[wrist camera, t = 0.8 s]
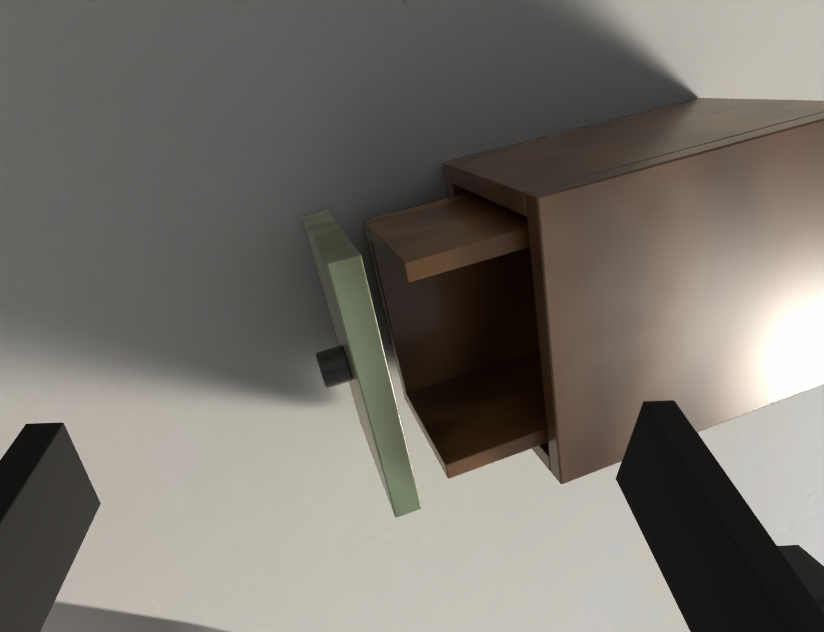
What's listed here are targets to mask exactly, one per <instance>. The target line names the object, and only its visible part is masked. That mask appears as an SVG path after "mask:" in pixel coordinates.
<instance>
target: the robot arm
mask: <svg viewBox="0 0 824 632" xmlns="http://www.w3.org/2000/svg"><path fill="white" fill-rule="evenodd" d="M616 480H617V482H618V484H619V486H620V488H621V490H622V492H623V494H624V496H625V498H626V500H627V502H628V504H629V506H630V508H631V511H632V513H633V515H634V517H635V519H636V521H637V523H638V525H639V527H640V529H641V531H642V533H643V535H644V537H645V539H646V541H647V543H648V545H649V547H650V549H651V552H652V554H653V556H654V558H655V560H656V562H657V564H658V566H659V568H660V570H661V572H662V574H663V576H664V578H665V580H666V582H667V584H668V586H669V588H670V590H671V593H672V595H673V597H674V599H675V601H676V603H677V605H678V607H679V609H680V611H681V613H682V615H683V617H684V619H685V621H686V623H687V625H688V627H689V629H690V632H824V566H823V565H821V564H820V563H819V562H818V561H817V560H815V559H814V558H813V557H812V556H811V555H810V554H808V553H807V552H806V551H805V550H804V549H802V548H801V547H800V546H799V545H791V546H776V544H775V543H774V541H773V540H772V539H771V537H770V536H769V534H768V533H767V531H766V530H765V529H764V527H763V526H762V524H761V523H760V521H759V520H758V519H757V517H756V516H755V514H754V513H753V512H752V510H751V509H750V507H749V506H748V504H747V503H746V502H745V500H744V499H743V497H742V496H741V494H740V493H739V492H738V490H737V489H736V487H735V486H734V484H733V483H732V482H731V480H730V479H729V477H728V476H727V475H726V473H725V472H724V470H723V469H722V467H721V466H720V465H719V463H718V462H717V460H716V459H715V457H714V456H713V455H712V453H711V452H710V450H709V449H708V448H707V446H706V445H705V443H704V442H703V440H702V439H701V438H700V436H699V435H698V433H697V432H696V430H695V429H694V428H693V426H692V425H691V423H690V422H689V421H688V419H687V418H686V416H685V415H684V413H683V412H682V411H681V409H680V408H679V406H678V405H677V403H676V402H675V401H674V400H668V401H643V404H642V407H641V410H640V412H639V415H638V418H637V421H636V424H635V426H634V429H633V432H632V435H631V438H630V440H629V443H628V446H627V449H626V452H625V454H624V457H623V460H622V463H621V466H620V468H619V471H618V474H617V477H616ZM100 504H101V503H100V501H99V499H98V497H97V495H96V493H95V490H94V488H93V486H92V484H91V482H90V480H89V477H88V475H87V473H86V471H85V469H84V466H83V464H82V462H81V460H80V458H79V456H78V453H77V451H76V449H75V447H74V445H73V443H72V440H71V438H70V436H69V434H68V432H67V430H66V427H65V425H64V423H40V424H26V425H25V426H24V428H23V429H22V431H21V432H20V433H19V435H18V436H17V438H16V439H15V440H14V442H13V443H12V445H11V446H10V448H9V449H8V450H7V452H6V453H5V455H4V456H3V457H2V459H1V460H0V632H40V631H41V629H42V627H43V625H44V622H45V620H46V618H47V616H48V614H49V612H50V610H51V607H52V605H53V603H54V601H55V599H56V597H57V595H58V593H59V591H60V588H61V586H62V584H63V582H64V580H65V578H66V576H67V574H68V571H69V569H70V567H71V565H72V563H73V561H74V559H75V557H76V554H77V552H78V550H79V548H80V546H81V544H82V542H83V540H84V538H85V535H86V533H87V531H88V529H89V527H90V525H91V523H92V521H93V518H94V516H95V514H96V512H97V510H98V508H99V506H100Z"/></svg>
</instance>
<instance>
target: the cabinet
mask: <svg viewBox="0 0 824 632" xmlns="http://www.w3.org/2000/svg"><path fill="white" fill-rule="evenodd" d="M443 167H444V173H445V179H446V186H447V192H448V198H450V197H454V196H458V195H462V194H466V193H469V192H473V193H475V194H477V195H479V196H482V197H484V198H486V199H488V200H491V201H493V202H495V203H497V204H500V205H502V206H504V207H506V208H509V209H511V210H513V211H515V212H517V213H520V214H522V215H524V216H527V220H528V230H529V241H530V252H531V262H532V273H533V284H534V294H535V305H536V315H537V326H538V337H539V347H540V358H541V369H542V379H543V390H544V401H545V411H546V422H547V433H548V442H547V443H545V444H542V445H539V446H536V447H534V448H532V449H533V451H534V452H535V453H536V454H537V456H538V457H539V458H540V459H541V460H542V462H543V463H544V464H545V465H546V467H547V468H548V469H549V470H550V471H551V472H552V474H553V475H554V476H555V477H556V479H557V480H558V481H559V482H560V484H564V483H566V482H569V481H572V480H574V479H577V478H579V477H582V476H585V475H587V474H590V473H592V472H595V471H598V470H600V469H603V468H605V467H608V466H611V465H613V464H616V463H618V462H621V461H622V460H623V457H624V454H625V452H626V449H627V446H628V443H629V440H630V438H631V435H632V432H633V429H634V426H635V424H636V421H637V418H638V415H639V412H640V410H641V407H642V404H643V401H668V400H674V401H675V402H676V403H677V405H678V406H679V408H680V409H681V411H682V412H683V413H684V415H685V416H686V418H687V419H688V421H689V422H690V423H691V425H692V426H693V428H694V429H695V430H696V432H699V431H702V430H704V429H707V428H710V427H712V426H715V425H717V424H720V423H723V422H725V421H728V420H730V419H733V418H736V417H738V416H741V415H743V414H746V413H749V412H751V411H754V410H756V409H759V408H762V407H764V406H767V405H769V404H772V403H775V402H777V401H780V400H782V399H785V398H788V397H790V396H793V395H795V394H798V393H801V392H803V391H806V390H808V389H811V388H814V387H816V386H819V385H821V384H824V101H805V100H761V99H717V98H713V99H712V98H699V99H695V100H691V101H687V102H683V103H679V104H675V105H671V106H667V107H663V108H659V109H655V110H651V111H647V112H643V113H639V114H635V115H631V116H627V117H623V118H619V119H615V120H611V121H607V122H603V123H599V124H595V125H591V126H587V127H583V128H579V129H575V130H571V131H567V132H563V133H559V134H555V135H551V136H547V137H543V138H539V139H535V140H531V141H527V142H523V143H519V144H515V145H511V146H507V147H503V148H499V149H495V150H491V151H487V152H483V153H479V154H475V155H471V156H467V157H463V158H459V159H455V160H451V161H447V162H444V163H443Z"/></svg>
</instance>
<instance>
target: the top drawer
mask: <svg viewBox="0 0 824 632" xmlns="http://www.w3.org/2000/svg"><path fill="white" fill-rule="evenodd" d="M303 220H304V224H305V227H306V231H307V234H308V238H309V242H310V245H311V249H312V252H313V256H314V259H315V263H316V266H317V270H318V274H319V277H320V281H321V284H322V288H323V291H324V295H325V299H326V302H327V306H328V309H329V313H330V316H331V320H332V323H333V327H334V331H335V334H336V338H337V341H338V345H339V346H336V347H333V348H330V349H327V350H323V351H320V352H317V353H316V358H317V361H318V364H319V368H320V371H321V374H322V378H323V381H324V384H325V387H326V388H329V387H333V386H336V385H339V384H342V383H345V382H348V381H349V384H350V388H351V391H352V395H353V398H354V402H355V405H356V409H357V412H358V416H359V420H360V423H361V426H362V428H363V431H364V434H365V436H366V439H367V442H368V445H369V447H370V450H371V453H372V456H373V458H374V461H375V464H376V466H377V469H378V472H379V475H380V477H381V480H382V483H383V486H384V488H385V491H386V494H387V496H388V499H389V502H390V505H391V507H392V510H393V513H394V516H395V517H396V518H397V517H400V516H402V515H405V514H408V513H410V512H413V511H416V510H418V509H421V507H422V506H421V502H420V498H419V494H418V489H417V485H416V481H415V477H414V473H413V469H412V464H411V460H410V456H409V452H408V448H407V443H406V439H405V435H404V431H403V427H402V423H401V418H400V414H399V410H398V406H397V402H396V398H395V393H394V389H393V385H392V381H391V377H390V373H389V368H388V364H387V360H386V356H385V352H384V348H383V343H382V339H381V335H380V331H379V327H378V322H377V318H376V314H375V310H374V306H373V302H372V297H371V293H370V289H369V285H368V281H367V277H366V272H365V268H364V264H363V260H362V256H361V254H360V252H359V251H358V250H357V248H356V247H355V246H354V244H353V243H352V242H351V240H350V239H349V238H348V236H347V235H346V234H345V232H344V231H343V229H342V228H341V227H340V225H339V224H338V223H337V221H336V220H335V219H334V217H333V216H332V215H331V213H330V212H329V211H328V210H324V211H320V212H316V213H313V214H309V215H305V216H303ZM364 224H365V228H366V233H367V237H368V241H369V246H370V250H371V254H372V259H373V263H374V267H375V272H376V276H377V280H378V285H379V289H380V293H381V298H382V302H383V306H384V311H385V315H386V319H387V324H388V328H389V332H390V337H391V341H392V345H393V350H394V354H395V358H396V363H397V367H398V371H399V376H400V380H401V384H402V389H403V393H404V397H405V400H406V402H407V403H408V405H409V407H410V409H411V411H412V413H413V415H414V416H415V418H416V420H417V422H418V424H419V426H420V428H421V429H422V431H423V433H424V435H425V437H426V439H427V441H428V442H429V444H430V446H431V448H432V450H433V452H434V454H435V455H436V457H437V459H438V461H439V463H440V465H441V467H442V468H443V470H444V472H445V474H446V476H447V478H452V477H454V476H457V475H460V474H463V473H465V472H468V471H471V470H474V469H476V468H479V467H482V466H484V465H487V464H490V463H493V462H495V461H498V460H501V459H504V458H506V457H509V456H512V455H514V454H517V453H520V452H523V451H525V450H528V449H531V448H534V447H536V446H539V445H542V444H545V443H547V442H548V433H547V422H546V411H545V401H544V390H543V379H542V369H541V358H540V347H539V337H538V326H537V315H536V305H535V294H534V284H533V273H532V262H531V252H530V241H529V230H528V220H527V216H524V215H522V214H520V213H517V212H515V211H513V210H511V209H509V208H506V207H504V206H502V205H500V204H497V203H495V202H493V201H491V200H488V199H486V198H484V197H482V196H479V195H477V194H475V193H473V192H469V193H466V194H462V195H458V196H454V197H450V198H447V199H443V200H439V201H435V202H431V203H428V204H424V205H420V206H416V207H412V208H409V209H405V210H401V211H397V212H393V213H390V214H386V215H382V216H378V217H374V218H371V219H367V220H364Z"/></svg>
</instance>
